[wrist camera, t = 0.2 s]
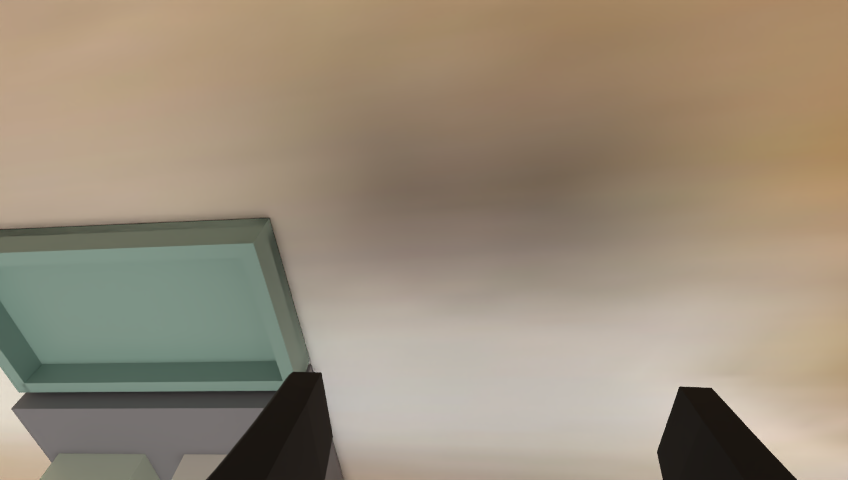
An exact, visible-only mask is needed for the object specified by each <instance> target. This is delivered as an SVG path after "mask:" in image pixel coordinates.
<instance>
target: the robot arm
mask: <svg viewBox="0 0 848 480" xmlns="http://www.w3.org/2000/svg"><path fill="white" fill-rule="evenodd" d="M332 438H333V435H332V430H331V424H330V418H329V413H328V407H327V401H326V396H325V390H324V384H323V379H322V373H316V372H292V373H291V374H289V375H288V377H287V378H286V379H285V381H284V382H283V383H282V385H281V386H280V388H279V389H278V390H277V392H276V393H275V394H274V396H273V397H272V398H271V400H270V401H269V403H268V404H267V405H266V407H265V408H264V409H263V410H262V412H261V413H260V414H259V416H258V417H257V418H256V420H255V421H254V422H253V423H252V425H251V426H250V427H249V429H248V430H247V431H246V432H245V434H244V435H243V436H242V437H241V438H240V440H239V441H238V442H237V443H236V445H235V446H234V447H233V448H232V450H231V451H230V452H229V453H228V454H227V456H226V457H225V458H224V459H223V461H222V462H221V463H220V464H219V465H218V466H217V468H216V469H215V470H214V471H213V472H212V473H211V474H210V476H209V477H208V478H207V479H206V480H325V477H326V472H327V466H328V461H329V455H330V449H331V444H332ZM657 454H658V459H659V463H660V468H661V473H662V477H663V480H797V479H796V478H795V477H794V476H793V475H792V474H791V473H790V472H789V471H788V470H787V469H786V468H785V467H784V466H783V465H782V464H781V462H780V461H779V460H778V459H777V458H776V457H775V456H774V455H773V454H772V453H771V452H770V451H769V450H768V449H767V448H766V446H765V445H764V444H763V443H762V442H761V441H760V440H759V439H758V438H757V437H756V436H755V435H754V434H753V432H752V431H751V430H750V429H749V428H748V427H747V426H746V425H745V424H744V423H743V422H742V420H741V419H740V418H739V417H738V416H737V415H736V414H735V413H734V412H733V411H732V410H731V408H730V407H729V406H728V405H727V404H726V403H725V402H724V401H723V400H722V399H721V398H720V397H719V395H718V394H717V393H716V392H715V391H714V390H713V389H712V388H701V387H679V389H678V392H677V395H676V398H675V401H674V404H673V407H672V410H671V413H670V416H669V418H668V421H667V424H666V427H665V430H664V433H663V436H662V439H661V442H660V445H659V448H658V451H657Z"/></svg>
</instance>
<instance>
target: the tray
mask: <svg viewBox="0 0 848 480" xmlns="http://www.w3.org/2000/svg"><path fill="white" fill-rule="evenodd" d="M309 361H310V360H309V356H308V353H307V349H306V346H305V342H304V339H303V335H302V332H301V328H300V325H299V321H298V318H297V314H296V311H295V307H294V304H293V300H292V297H291V293H290V290H289V286H288V283H287V279H286V276H285V272H284V269H283V265H282V261H281V258H280V254H279V251H278V247H277V244H276V240H275V237H274V233H273V230H272V226H271V223H270V219H269V218H259V219H236V220H214V221H191V222H168V223H145V224H122V225H99V226H77V227H54V228H31V229H8V230H0V367H1V368H2V370H3V371H4V373H5V374H6V375H7V377H8V378H9V379H10V381H11V382H12V384H13V385H14V386H15V388H16V389H17V391H18V392H157V391H277V390H278V389H279V388H280V386H281V385H282V383H283V382H284V381H285V379H286V378H287V377H288V375H289V374H291V373H292V372H306V370H307V367H308V364H309Z"/></svg>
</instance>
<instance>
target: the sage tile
mask: <svg viewBox="0 0 848 480" xmlns="http://www.w3.org/2000/svg"><path fill="white" fill-rule="evenodd" d="M40 480H160V478H159V477H158V475H157V473H156V472H155V470H154V468H153V467H152V465H151V463H150V462H149V460H148V458H147V457H146V455H145V454H64V453H59V454H58V455H57V457H56V458H55V459H54V461H53V462H52V463H51V465H50V466H49V467H48V469H47V470H46V471H45V473H44V474H43V475H42V477H41V478H40Z"/></svg>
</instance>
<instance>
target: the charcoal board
mask: <svg viewBox="0 0 848 480" xmlns="http://www.w3.org/2000/svg"><path fill="white" fill-rule="evenodd" d="M306 372H313V370H312V367H311V365H308V367H307V370H306ZM276 392H277V391H157V392H26V393H25V394H24V395H23V396H22V398H21V399H20V400H19V401H18V402H17V403H16V404H15V405H14V406H13V408H12V411H13V412H14V413H15V415H16V416H17V417H18V419H19V420H20V421H21V423H22V424H23V425H24V426H25V428H26V429H27V430H28V432H29V433H30V434H31V436H32V437H33V438H34V440H35V441H36V442H37V444H38V445H39V446H40V448H41V449H42V450H43V452H44V453H45V454H46V456H47V457H48V458H49V460H50V461H51V462H53V461H54V459H55V458H56V457H57V455H58V454H59V453H64V454H145V455H146V457H147V458H148V460H149V462H150V463H151V465H152V467H153V468H154V470H155V472H156V473H157V475H158V477H159V478H160V480H171V479H172V477H173V475H174V473H175V471H176V470H177V468H178V466H179V464H180V462H181V460H182V458H183V456H184V454H215V455H227V454H228V453H229V452H230V451H231V450H232V448H233V447H234V446H235V445H236V443H237V442H238V441H239V440H240V438H241V437H242V436H243V435H244V434H245V432H246V431H247V430H248V429H249V427H250V426H251V425H252V423H253V422H254V421H255V420H256V418H257V417H258V416H259V414H260V413H261V412H262V410H263V409H264V408H265V407H266V405H267V404H268V403H269V401H270V400H271V398H272V397H273V396H274V394H275V393H276ZM325 480H344V479H343V475H342V472H341V468H340V465H339V461H338V458H337V454H336V451H335V447H334V444H333V440H332V444H331V449H330V455H329V461H328V466H327V472H326V477H325Z"/></svg>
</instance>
